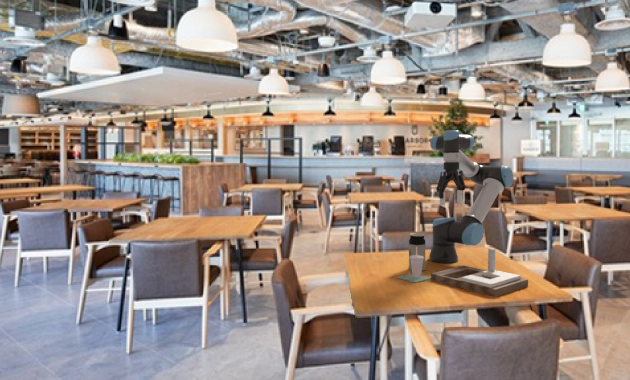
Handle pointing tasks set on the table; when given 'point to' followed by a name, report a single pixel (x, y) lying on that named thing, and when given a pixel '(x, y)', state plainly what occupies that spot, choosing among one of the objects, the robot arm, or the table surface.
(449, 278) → the brown tray
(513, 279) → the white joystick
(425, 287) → the table surface
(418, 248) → the travel mug
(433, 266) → the table surface
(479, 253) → the table surface
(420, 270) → the smoothie
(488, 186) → the robot arm
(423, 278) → the mat
